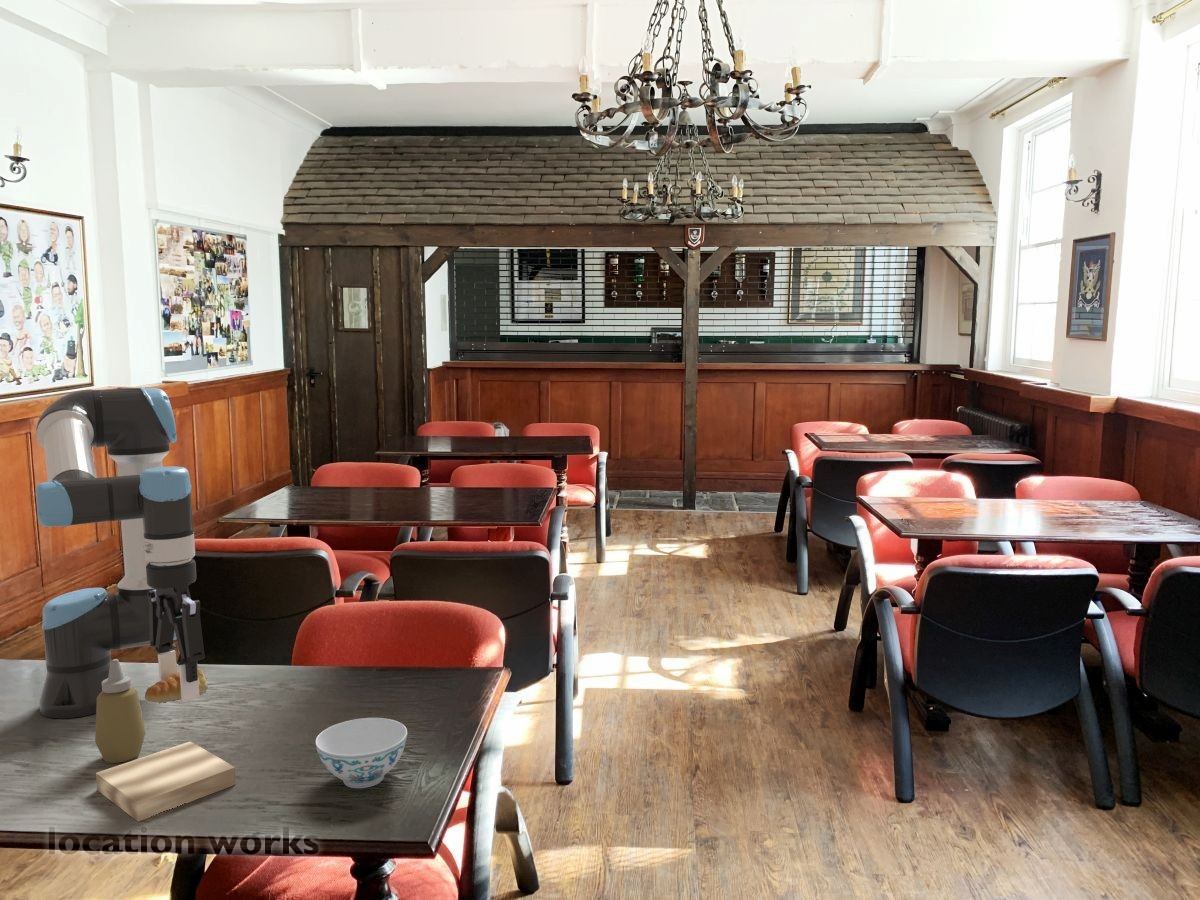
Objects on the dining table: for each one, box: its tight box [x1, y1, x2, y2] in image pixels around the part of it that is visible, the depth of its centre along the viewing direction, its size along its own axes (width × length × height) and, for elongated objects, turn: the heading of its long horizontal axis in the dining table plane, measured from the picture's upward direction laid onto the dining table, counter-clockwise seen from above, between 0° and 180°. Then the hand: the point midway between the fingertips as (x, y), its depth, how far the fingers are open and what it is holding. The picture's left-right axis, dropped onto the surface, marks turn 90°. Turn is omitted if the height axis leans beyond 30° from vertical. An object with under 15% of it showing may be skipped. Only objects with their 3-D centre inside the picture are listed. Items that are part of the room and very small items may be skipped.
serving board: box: [95, 740, 237, 822], centre depth 156 cm, size 16×16×3 cm
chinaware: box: [315, 717, 408, 789], centre depth 158 cm, size 15×15×8 cm
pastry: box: [144, 668, 209, 704], centre depth 157 cm, size 9×7×4 cm
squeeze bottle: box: [94, 658, 146, 764], centre depth 167 cm, size 8×8×18 cm
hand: (179, 693), depth 158 cm, fingers closed on pastry, 7 cm apart
